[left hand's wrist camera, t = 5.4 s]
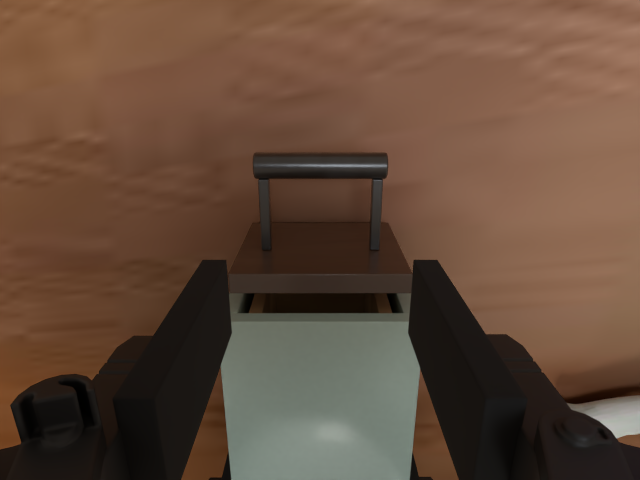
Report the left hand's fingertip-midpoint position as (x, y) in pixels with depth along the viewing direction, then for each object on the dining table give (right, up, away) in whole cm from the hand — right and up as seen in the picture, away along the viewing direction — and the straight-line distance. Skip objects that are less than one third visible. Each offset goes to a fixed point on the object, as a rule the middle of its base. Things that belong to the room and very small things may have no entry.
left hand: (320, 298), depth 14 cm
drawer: (0, -2, +20) cm, 20 cm away
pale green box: (0, -7, +23) cm, 24 cm away
